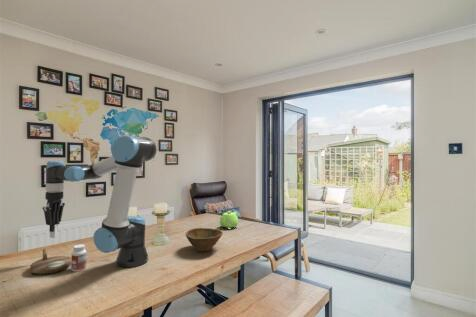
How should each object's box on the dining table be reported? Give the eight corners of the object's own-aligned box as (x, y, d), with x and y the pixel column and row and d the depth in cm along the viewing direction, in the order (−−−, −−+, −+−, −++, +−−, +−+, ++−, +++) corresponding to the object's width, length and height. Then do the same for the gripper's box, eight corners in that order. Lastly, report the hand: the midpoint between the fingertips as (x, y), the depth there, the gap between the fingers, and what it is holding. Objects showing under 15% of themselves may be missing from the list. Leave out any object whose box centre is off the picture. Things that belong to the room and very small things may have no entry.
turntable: (77, 264, 129) (77, 250, 129) (39, 276, 116) (39, 261, 116) (61, 257, 138) (61, 244, 138) (23, 267, 124) (24, 253, 124)
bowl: (230, 249, 159) (231, 232, 159) (200, 259, 143) (201, 240, 142) (206, 240, 174) (207, 225, 174) (177, 248, 157) (177, 232, 157)
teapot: (226, 231, 196) (227, 214, 196) (213, 228, 204) (214, 211, 204) (243, 226, 211) (243, 210, 211) (230, 223, 220) (231, 208, 220)
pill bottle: (69, 269, 127) (69, 245, 127) (83, 265, 131) (83, 242, 131) (73, 273, 123) (74, 249, 123) (88, 269, 127) (88, 245, 127)
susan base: (71, 267, 129) (71, 265, 129) (42, 276, 119) (42, 274, 119) (58, 261, 135) (58, 260, 135) (30, 269, 125) (30, 268, 125)
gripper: (56, 189, 142) (55, 233, 143) (37, 192, 129) (36, 241, 130) (70, 189, 142) (68, 233, 142) (52, 193, 129) (51, 241, 129)
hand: (53, 237), depth 136 cm, fingers closed
